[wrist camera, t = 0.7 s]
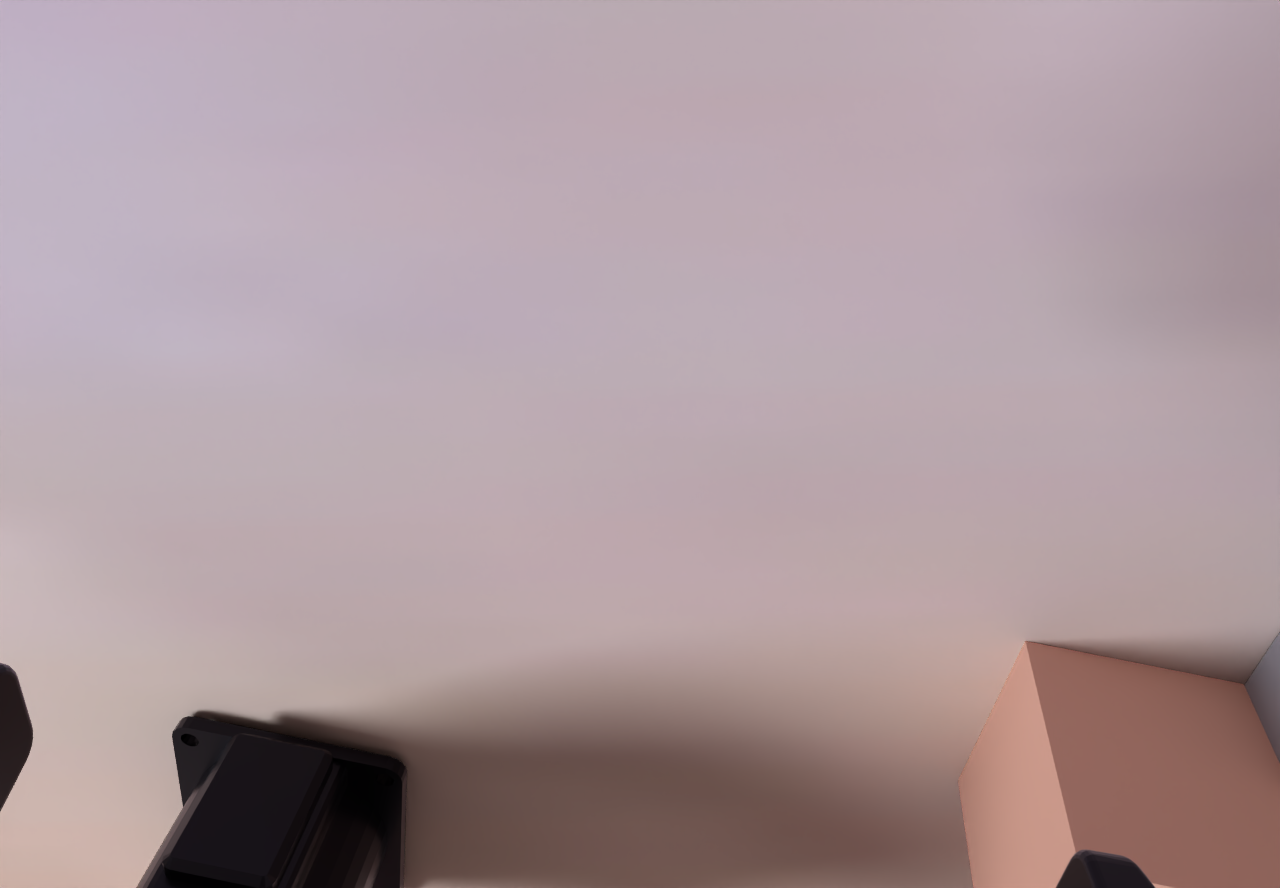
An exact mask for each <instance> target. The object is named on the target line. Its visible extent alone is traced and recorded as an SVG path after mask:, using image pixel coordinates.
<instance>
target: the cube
mask: <svg viewBox="0 0 1280 888" xmlns="http://www.w3.org/2000/svg"><path fill="white" fill-rule="evenodd" d="M958 784H959V791H960V798H961V805H962V812H963V819H964V826H965V833H966V840H967V847H968V854H969V861H970V868H971V875H972V882H973V888H1056V886H1057V884H1058V882H1059V880H1060V878H1061V877H1062V875H1063V873H1064V871H1065V869H1066V867H1067V865H1068V863H1069V861H1070V859H1071V858H1072V857H1073V855H1074V854H1075V853H1077V852H1078V851H1080V850H1093V851H1099V852H1105V853H1111V854H1116V855H1121V856H1124V857H1127V858H1129V859H1131V860H1132V861H1133V862H1134V863H1136V864H1137V865H1138V866H1139V868H1140V869H1141V870H1142V871H1143V872H1144V874H1145V875H1146V876H1147V878H1148V879H1149V880H1150V881H1151V883H1152V884H1153V885H1154V886H1155V888H1280V763H1279V761H1278V759H1277V756H1276V754H1275V752H1274V750H1273V748H1272V745H1271V743H1270V741H1269V739H1268V737H1267V734H1266V732H1265V730H1264V728H1263V726H1262V723H1261V721H1260V719H1259V717H1258V715H1257V712H1256V710H1255V708H1254V706H1253V704H1252V701H1251V699H1250V697H1249V695H1248V693H1247V690H1246V688H1245V686H1244V684H1241V683H1236V682H1231V681H1226V680H1221V679H1216V678H1211V677H1205V676H1200V675H1195V674H1190V673H1185V672H1180V671H1175V670H1170V669H1165V668H1160V667H1155V666H1150V665H1145V664H1140V663H1135V662H1130V661H1124V660H1119V659H1114V658H1109V657H1104V656H1099V655H1094V654H1089V653H1084V652H1079V651H1074V650H1069V649H1064V648H1059V647H1054V646H1049V645H1044V644H1038V643H1033V642H1028V641H1025V643H1024V645H1023V647H1022V649H1021V651H1020V653H1019V655H1018V657H1017V659H1016V661H1015V663H1014V665H1013V667H1012V670H1011V672H1010V674H1009V676H1008V678H1007V680H1006V682H1005V684H1004V686H1003V688H1002V690H1001V692H1000V694H999V697H998V699H997V701H996V703H995V705H994V707H993V709H992V711H991V713H990V715H989V717H988V719H987V721H986V724H985V726H984V728H983V730H982V732H981V734H980V736H979V738H978V740H977V742H976V744H975V746H974V748H973V751H972V753H971V755H970V757H969V759H968V761H967V763H966V765H965V767H964V769H963V771H962V773H961V775H960V778H959V780H958Z"/></svg>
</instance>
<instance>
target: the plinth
mask: <svg viewBox="0 0 1280 888" xmlns="http://www.w3.org/2000/svg"><path fill="white" fill-rule="evenodd" d="M1244 686H1245V688H1246V690H1247V693H1248V695H1249V697H1250V699H1251V701H1252V704H1253V706H1254V708H1255V710H1256V712H1257V715H1258V717H1259V719H1260V721H1261V723H1262V726H1263V728H1264V730H1265V732H1266V734H1267V737H1268V739H1269V741H1270V743H1271V745H1272V748H1273V750H1274V752H1275V754H1276V756H1277V759H1278V761H1279V763H1280V632H1279V634H1278V635H1277V637H1276V638H1275V640H1274V641H1273V643H1272V644H1271V646H1270V647H1269V649H1268V650H1267V652H1266V653H1265V655H1264V656H1263V658H1262V659H1261V661H1260V662H1259V664H1258V666H1257V667H1256V669H1255V670H1254V672H1253V673H1252V675H1251V676H1250V678H1249V679H1248V681H1247V682H1246V684H1245V685H1244Z"/></svg>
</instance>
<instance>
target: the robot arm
mask: <svg viewBox="0 0 1280 888" xmlns="http://www.w3.org/2000/svg"><path fill="white" fill-rule="evenodd" d="M172 738H173V745H174V751H175V758H176V764H177V770H178V777H179V783H180V789H181V796H182V802H183V809H182V810H181V812H180V814H179V815H178V817H177V819H176V821H175V822H174V824H173V826H172V827H171V829H170V831H169V833H168V834H167V836H166V838H165V839H164V841H163V843H162V845H161V846H160V848H159V850H158V851H157V853H156V855H155V857H154V858H153V860H152V862H151V863H150V865H149V867H148V869H147V870H146V872H145V874H144V875H143V877H142V879H141V881H140V882H139V884H138V886H137V887H136V888H404V858H405V823H406V789H407V770H406V767H405V766H404V764H403V763H402V762H400V761H399V760H397V759H395V758H392V757H390V756H385V755H380V754H375V753H370V752H365V751H360V750H355V749H350V748H345V747H340V746H336V745H331V744H326V743H321V742H316V741H311V740H306V739H301V738H296V737H291V736H286V735H282V734H277V733H272V732H267V731H262V730H257V729H252V728H247V727H242V726H237V725H233V724H228V723H223V722H218V721H213V720H208V719H203V718H198V717H190V716H188V717H184V718H182V719H181V720H180V722H179V723H178V725H177V726H176V728H175V729H174V731H173V734H172ZM32 741H33V728H32V724H31V720H30V717H29V714H28V710H27V707H26V704H25V700H24V697H23V693H22V690H21V687H20V683H19V680H18V677H17V675H16V672H15V671H14V670H13V669H12V668H11V667H10V666H8V665H6V664H2V663H0V811H1V809H2V807H3V805H4V803H5V801H6V799H7V798H8V796H9V794H10V792H11V790H12V788H13V786H14V784H15V782H16V780H17V778H18V776H19V774H20V772H21V770H22V768H23V766H24V764H25V762H26V760H27V758H28V756H29V753H30V750H31V746H32ZM1056 888H1155V886H1154V885H1153V884H1152V883H1151V881H1150V880H1149V879H1148V878H1147V876H1146V875H1145V874H1144V872H1143V871H1142V870H1141V869H1140V868H1139V866H1138V865H1137V864H1136V863H1134V862H1133V861H1132V860H1131V859H1129V858H1127V857H1124V856H1121V855H1116V854H1111V853H1105V852H1099V851H1093V850H1080V851H1078V852H1077V853H1075V854H1074V855H1073V857H1072V858H1071V859H1070V861H1069V863H1068V865H1067V867H1066V869H1065V871H1064V873H1063V875H1062V877H1061V878H1060V880H1059V882H1058V884H1057V886H1056Z"/></svg>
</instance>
